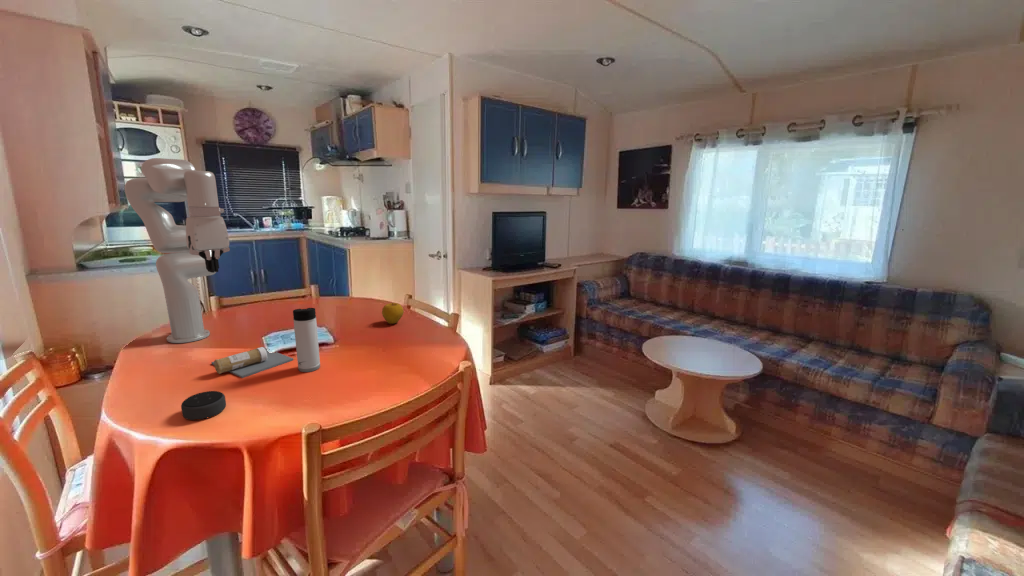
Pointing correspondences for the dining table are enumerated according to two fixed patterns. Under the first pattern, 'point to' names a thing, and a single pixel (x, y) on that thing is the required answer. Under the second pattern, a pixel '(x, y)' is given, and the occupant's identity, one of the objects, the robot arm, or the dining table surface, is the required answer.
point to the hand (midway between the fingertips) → (213, 271)
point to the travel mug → (306, 339)
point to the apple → (392, 312)
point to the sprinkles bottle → (240, 360)
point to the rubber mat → (261, 364)
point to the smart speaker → (203, 405)
